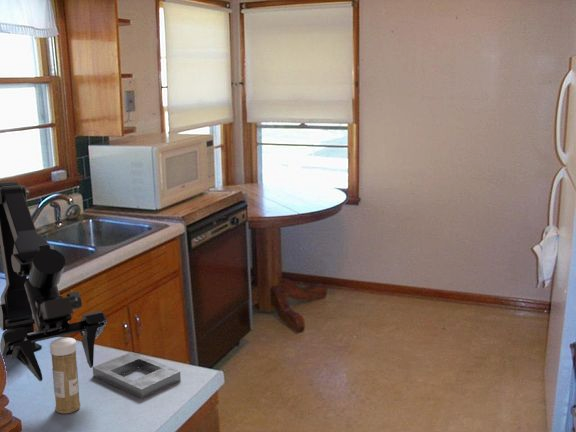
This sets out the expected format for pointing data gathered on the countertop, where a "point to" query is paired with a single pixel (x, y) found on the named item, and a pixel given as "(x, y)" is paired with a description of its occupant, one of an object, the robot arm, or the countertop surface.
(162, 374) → the gray rectangular frame
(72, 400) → the sprinkles bottle
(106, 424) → the countertop surface
